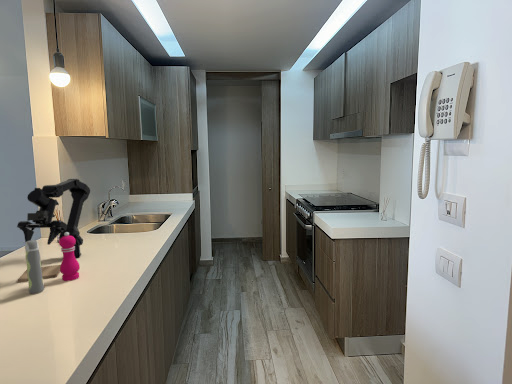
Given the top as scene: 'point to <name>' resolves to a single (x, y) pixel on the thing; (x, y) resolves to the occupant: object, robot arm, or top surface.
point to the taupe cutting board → (43, 273)
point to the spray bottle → (34, 267)
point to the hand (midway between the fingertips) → (37, 244)
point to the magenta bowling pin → (68, 258)
